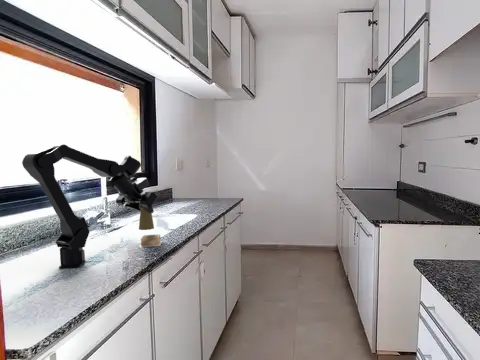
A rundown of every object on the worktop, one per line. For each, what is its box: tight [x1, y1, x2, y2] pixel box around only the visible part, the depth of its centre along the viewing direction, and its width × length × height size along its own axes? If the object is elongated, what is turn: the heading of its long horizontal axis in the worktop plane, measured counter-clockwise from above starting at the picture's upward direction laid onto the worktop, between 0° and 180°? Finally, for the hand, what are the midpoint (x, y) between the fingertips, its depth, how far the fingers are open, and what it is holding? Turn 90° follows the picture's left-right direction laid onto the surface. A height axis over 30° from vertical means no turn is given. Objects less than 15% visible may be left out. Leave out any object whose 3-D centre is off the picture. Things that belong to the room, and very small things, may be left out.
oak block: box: [140, 233, 162, 247], centre depth 146 cm, size 6×6×3 cm
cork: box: [138, 204, 155, 231], centre depth 147 cm, size 6×6×11 cm
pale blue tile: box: [138, 240, 163, 248], centre depth 146 cm, size 12×11×1 cm
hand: (148, 211), depth 148 cm, fingers closed on cork, 5 cm apart
